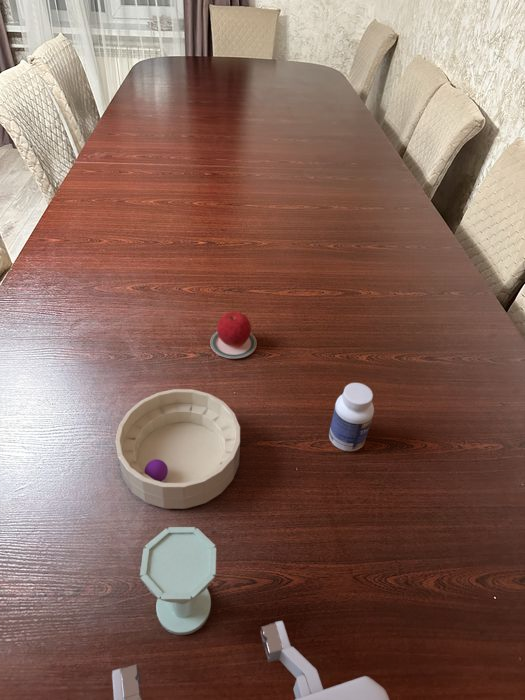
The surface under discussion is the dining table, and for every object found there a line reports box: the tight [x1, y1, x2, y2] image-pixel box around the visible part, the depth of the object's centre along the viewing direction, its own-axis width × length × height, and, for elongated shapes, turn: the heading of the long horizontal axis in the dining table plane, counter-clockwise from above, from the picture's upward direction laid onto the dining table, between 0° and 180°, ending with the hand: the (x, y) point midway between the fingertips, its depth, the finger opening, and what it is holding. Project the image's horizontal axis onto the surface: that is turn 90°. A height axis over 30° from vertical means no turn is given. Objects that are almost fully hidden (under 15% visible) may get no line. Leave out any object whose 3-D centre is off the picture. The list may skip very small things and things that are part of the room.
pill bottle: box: [328, 382, 375, 452], centre depth 74 cm, size 5×5×10 cm
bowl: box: [114, 388, 241, 510], centre depth 71 cm, size 16×16×6 cm
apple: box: [209, 311, 257, 360], centre depth 89 cm, size 8×8×6 cm
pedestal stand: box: [139, 526, 217, 636], centre depth 54 cm, size 7×7×11 cm
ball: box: [145, 459, 168, 482], centre depth 69 cm, size 3×3×3 cm
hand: (200, 647), depth 33 cm, fingers open, 8 cm apart
